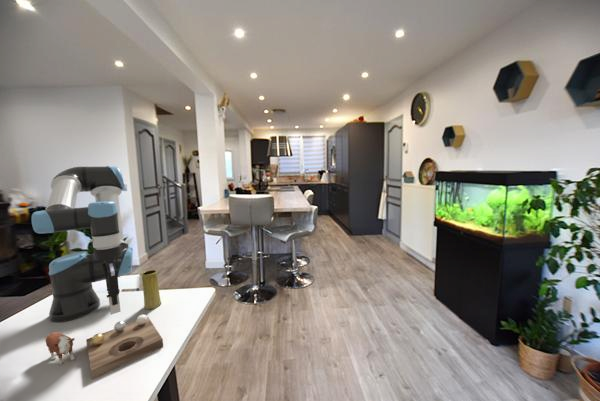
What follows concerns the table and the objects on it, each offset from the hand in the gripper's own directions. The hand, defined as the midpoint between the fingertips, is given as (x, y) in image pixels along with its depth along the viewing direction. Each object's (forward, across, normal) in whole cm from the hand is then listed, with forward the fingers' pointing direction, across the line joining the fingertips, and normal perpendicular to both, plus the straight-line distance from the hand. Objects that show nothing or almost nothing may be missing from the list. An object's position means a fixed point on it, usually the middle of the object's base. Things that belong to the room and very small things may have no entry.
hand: (115, 312), depth 86 cm
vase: (+6, -8, +13) cm, 17 cm away
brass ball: (+2, +11, -6) cm, 12 cm away
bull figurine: (+6, +7, -14) cm, 17 cm away
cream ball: (+2, +9, +6) cm, 11 cm away
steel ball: (+2, +8, 0) cm, 8 cm away
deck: (+6, +14, 0) cm, 15 cm away
